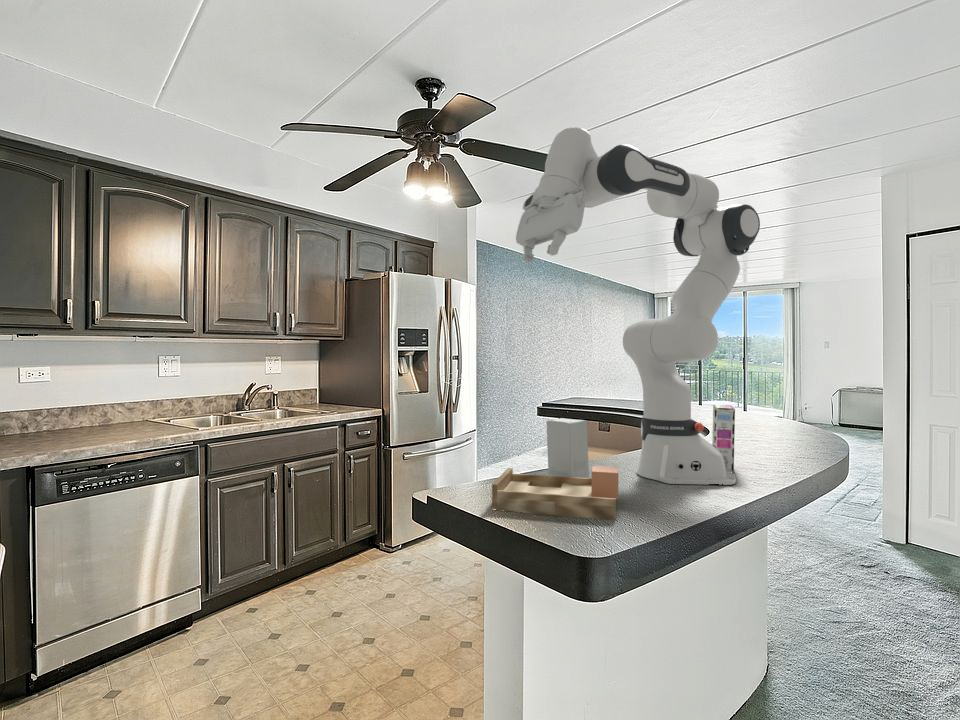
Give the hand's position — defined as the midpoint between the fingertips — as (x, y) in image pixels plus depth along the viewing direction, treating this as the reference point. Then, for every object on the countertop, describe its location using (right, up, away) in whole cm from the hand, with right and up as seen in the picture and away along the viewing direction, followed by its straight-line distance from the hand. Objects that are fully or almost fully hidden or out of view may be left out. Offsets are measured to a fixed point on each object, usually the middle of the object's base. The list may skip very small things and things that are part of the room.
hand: (538, 257), depth 111 cm
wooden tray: (+3, -51, -7) cm, 51 cm away
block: (+12, -48, -9) cm, 51 cm away
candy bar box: (+51, -51, +26) cm, 77 cm away
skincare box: (+8, -51, +10) cm, 52 cm away
